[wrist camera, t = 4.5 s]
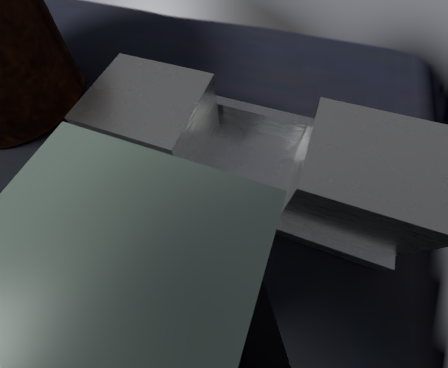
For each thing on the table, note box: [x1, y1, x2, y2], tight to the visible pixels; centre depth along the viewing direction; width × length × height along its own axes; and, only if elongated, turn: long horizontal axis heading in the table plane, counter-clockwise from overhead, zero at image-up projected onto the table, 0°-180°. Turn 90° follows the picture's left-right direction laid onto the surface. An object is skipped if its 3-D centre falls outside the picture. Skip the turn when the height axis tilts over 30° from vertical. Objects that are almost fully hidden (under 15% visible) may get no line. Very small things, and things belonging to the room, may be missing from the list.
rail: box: [64, 53, 448, 271], centre depth 15 cm, size 8×21×6 cm, turn 69°
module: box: [0, 121, 287, 368], centre depth 9 cm, size 5×4×12 cm
